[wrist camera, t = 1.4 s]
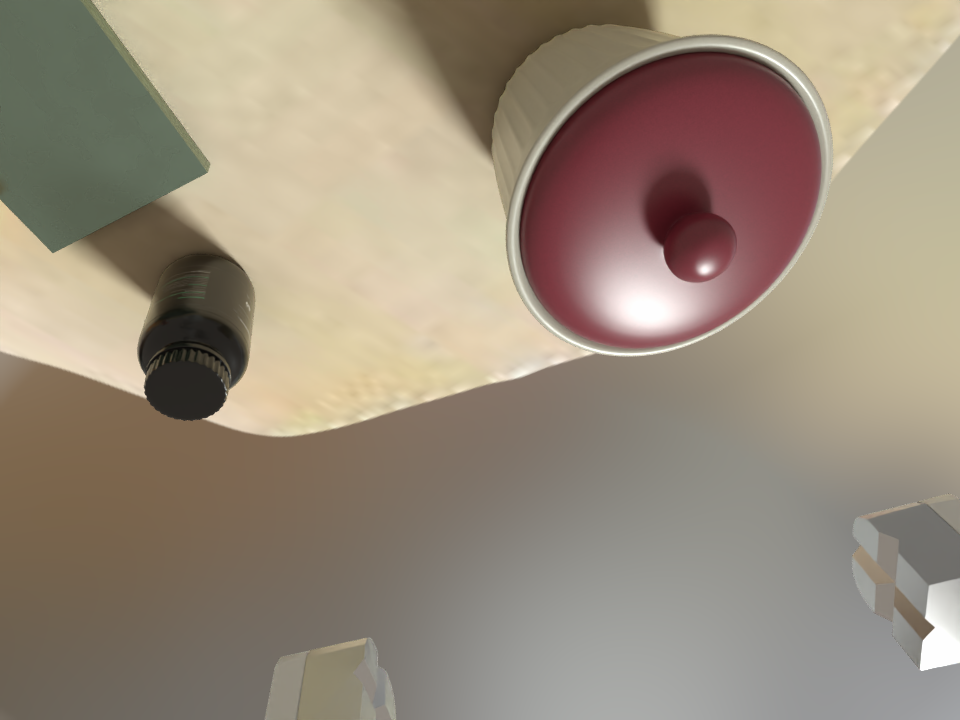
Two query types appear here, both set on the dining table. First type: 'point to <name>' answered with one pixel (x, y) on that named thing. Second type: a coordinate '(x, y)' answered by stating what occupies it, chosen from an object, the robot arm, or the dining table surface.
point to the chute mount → (81, 124)
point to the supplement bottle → (196, 336)
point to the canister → (656, 183)
